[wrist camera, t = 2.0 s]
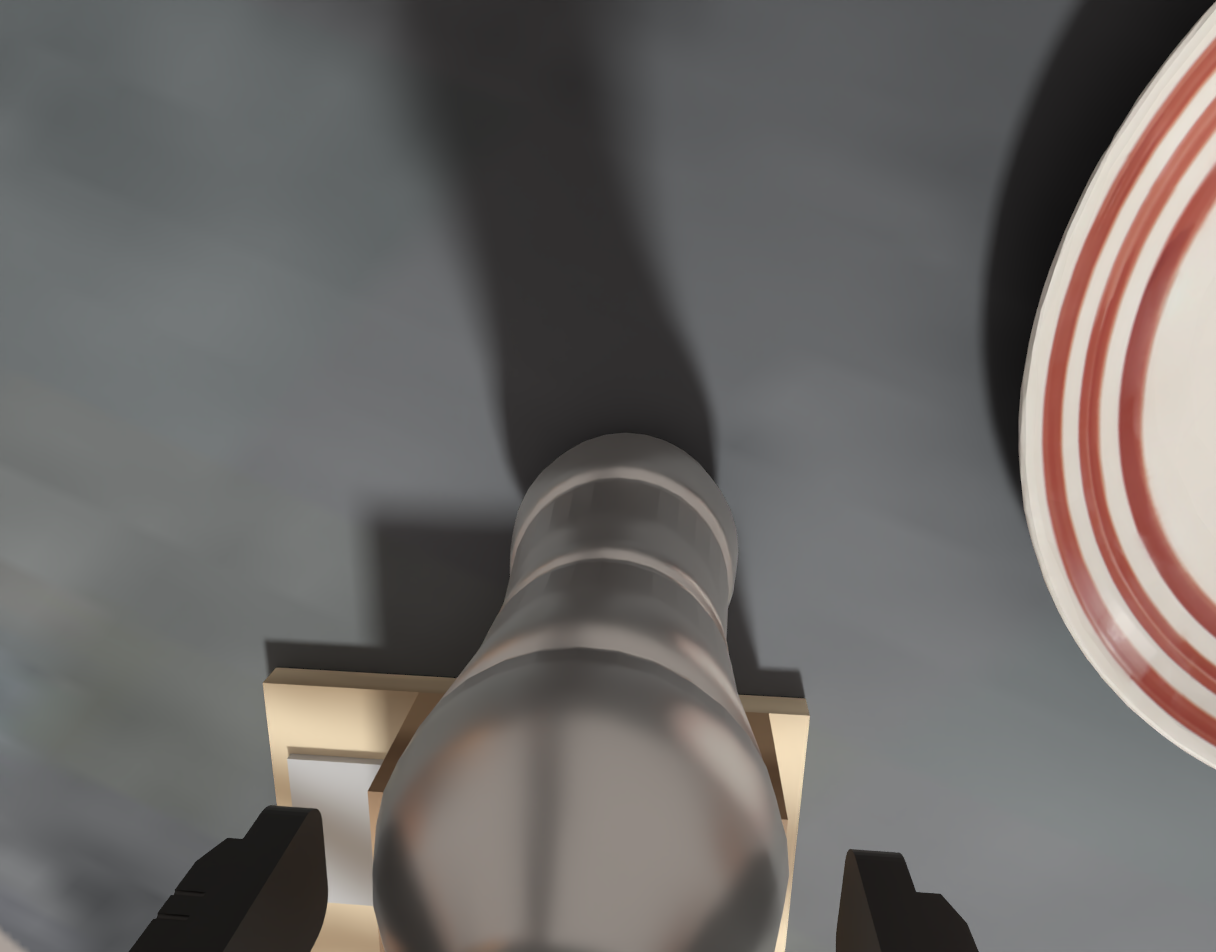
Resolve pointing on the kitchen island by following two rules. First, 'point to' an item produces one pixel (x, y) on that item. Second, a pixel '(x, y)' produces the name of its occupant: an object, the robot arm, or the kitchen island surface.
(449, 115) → the kitchen island surface
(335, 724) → the socket board
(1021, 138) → the kitchen island surface
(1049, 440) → the dinner plate
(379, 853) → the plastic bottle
